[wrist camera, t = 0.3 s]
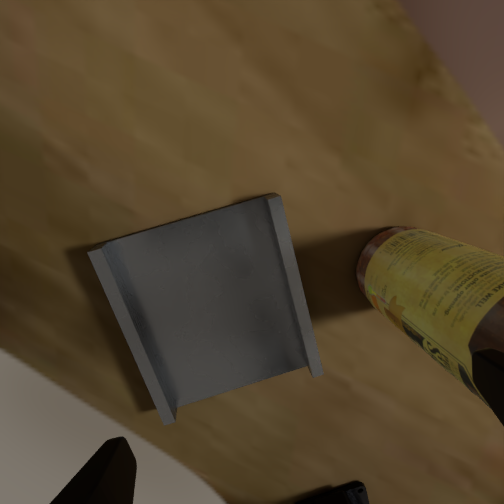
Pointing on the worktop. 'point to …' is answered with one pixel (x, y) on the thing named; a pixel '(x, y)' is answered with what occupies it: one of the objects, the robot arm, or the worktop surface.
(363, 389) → the worktop surface
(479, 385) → the robot arm
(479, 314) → the sauce bottle
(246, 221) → the floor track
